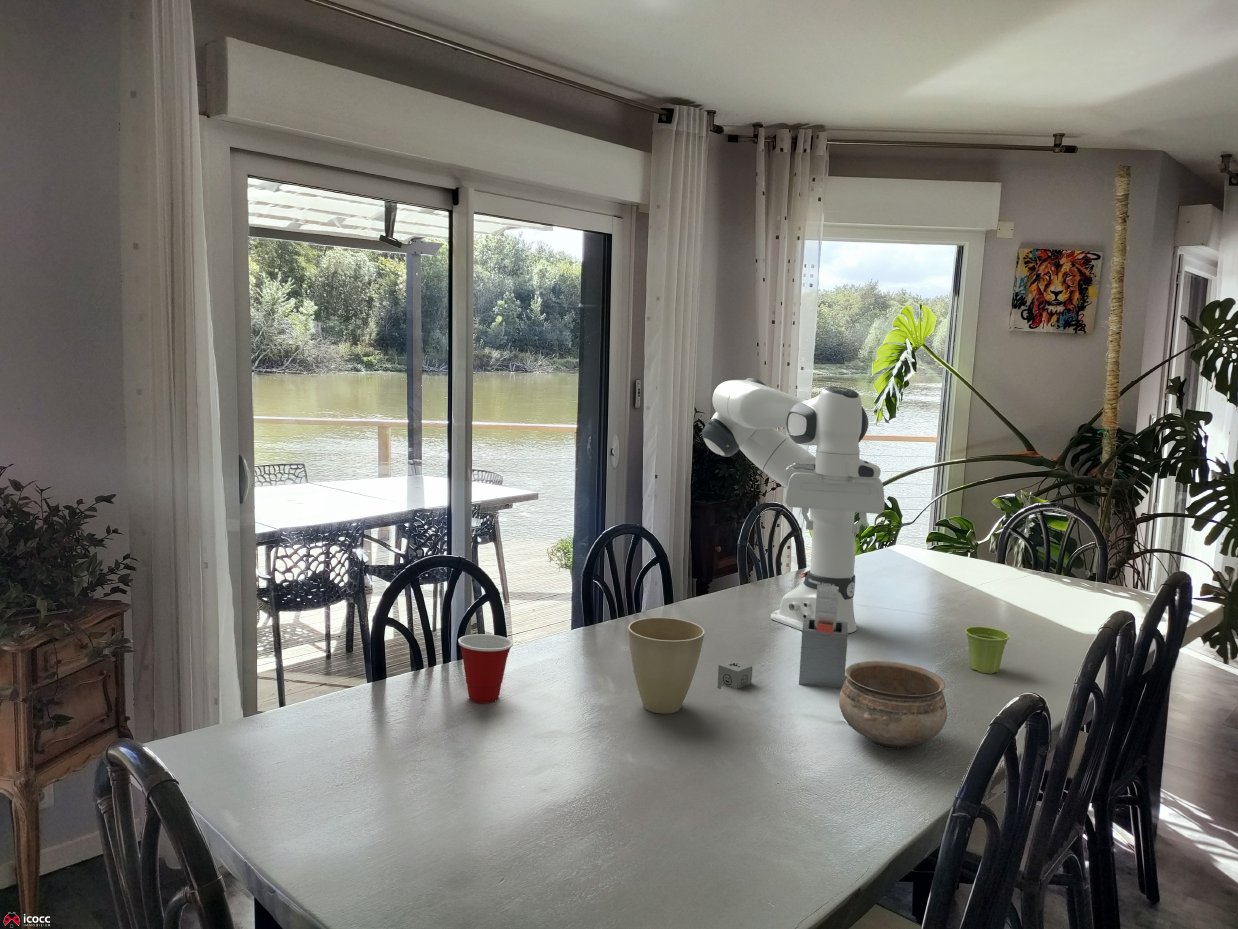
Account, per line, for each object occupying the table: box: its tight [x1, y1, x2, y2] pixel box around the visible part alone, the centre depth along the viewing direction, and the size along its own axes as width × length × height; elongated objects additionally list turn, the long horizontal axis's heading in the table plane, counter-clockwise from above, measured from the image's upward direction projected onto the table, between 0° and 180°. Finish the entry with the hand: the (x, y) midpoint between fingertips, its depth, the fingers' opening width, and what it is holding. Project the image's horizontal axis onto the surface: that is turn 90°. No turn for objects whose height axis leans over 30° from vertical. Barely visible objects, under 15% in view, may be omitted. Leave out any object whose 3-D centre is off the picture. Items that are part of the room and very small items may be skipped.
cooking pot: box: [838, 660, 948, 750], centre depth 165 cm, size 25×19×12 cm
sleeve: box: [798, 618, 849, 691], centre depth 192 cm, size 16×16×14 cm
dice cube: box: [717, 659, 753, 690], centre depth 189 cm, size 5×5×5 cm
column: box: [814, 585, 839, 632], centre depth 191 cm, size 4×5×20 cm
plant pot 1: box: [627, 617, 705, 715], centre depth 177 cm, size 15×15×16 cm
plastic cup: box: [457, 633, 514, 704], centre depth 179 cm, size 11×11×12 cm
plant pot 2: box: [964, 626, 1011, 674], centre depth 206 cm, size 9×9×9 cm
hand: (832, 531), depth 189 cm, fingers open, 8 cm apart
